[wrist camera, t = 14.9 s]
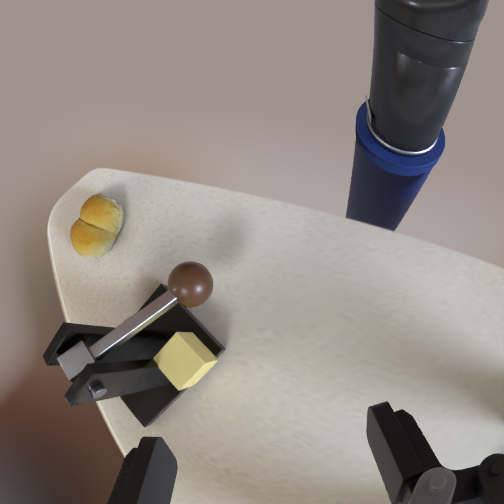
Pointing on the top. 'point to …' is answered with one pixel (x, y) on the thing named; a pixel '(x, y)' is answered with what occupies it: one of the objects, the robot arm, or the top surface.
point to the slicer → (130, 362)
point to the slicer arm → (143, 316)
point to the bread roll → (97, 226)
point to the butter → (185, 360)
